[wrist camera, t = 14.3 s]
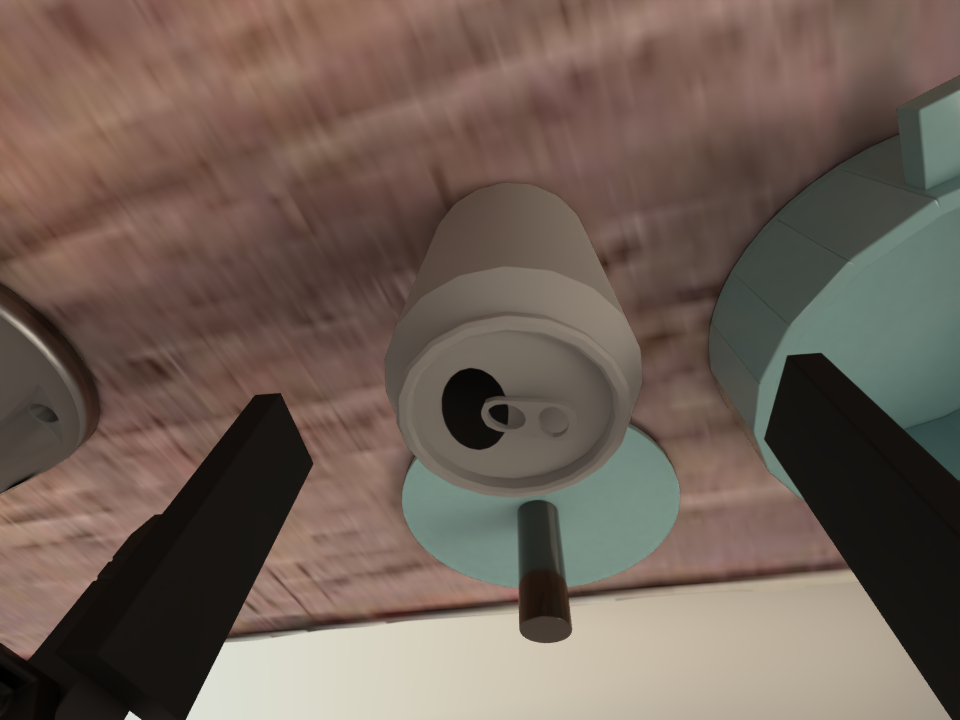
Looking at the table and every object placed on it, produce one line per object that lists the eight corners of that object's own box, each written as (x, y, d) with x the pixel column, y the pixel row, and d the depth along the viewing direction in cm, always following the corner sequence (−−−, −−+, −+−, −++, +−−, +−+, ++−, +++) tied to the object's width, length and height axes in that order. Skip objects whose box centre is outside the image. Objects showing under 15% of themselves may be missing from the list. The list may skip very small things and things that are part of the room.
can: (421, 184, 20) (336, 304, 10) (592, 171, 19) (684, 286, 9) (442, 330, 24) (396, 520, 14) (584, 323, 24) (641, 517, 14)
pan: (764, 501, 30) (810, 580, 26) (639, 201, 20) (679, 242, 15) (1100, 401, 25) (1237, 478, 20) (1165, -88, 14) (1475, -159, 10)
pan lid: (491, 597, 38) (487, 720, 31) (349, 463, 30) (300, 588, 23) (710, 535, 32) (768, 669, 25) (609, 345, 24) (652, 465, 17)
